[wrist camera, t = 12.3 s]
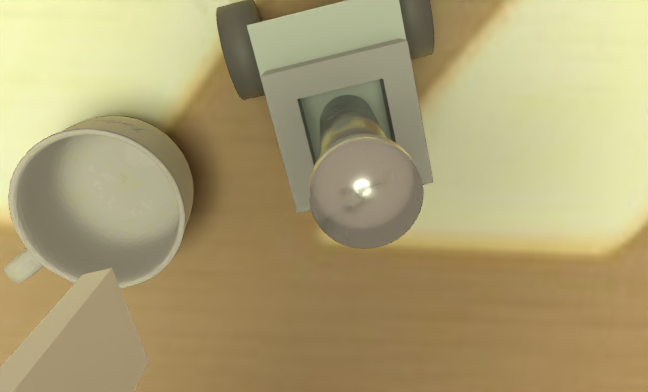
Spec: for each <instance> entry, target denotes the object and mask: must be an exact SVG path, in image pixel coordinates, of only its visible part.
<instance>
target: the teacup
mask: <svg viewBox="0 0 648 392" xmlns="http://www.w3.org/2000/svg"><path fill="white" fill-rule="evenodd" d="M193 196H194V186H193V178H192V174H191V171H190V168H189V165H188V162H187V161H186V159H185V157H184V155H183V153H182V152H181V150H180V149H179V148H178V146H177V145H176V144H175V143H174V142H173V141H172V140H171V139H170V138H169V137H168V136H167V135H166V134H165V133H163V132H162V131H160V130H159V129H157V128H156V127H154V126H152V125H150V124H148V123H146V122H143V121H141V120H138V119H134V118H129V117H124V116H103V117H96V118H92V119H88V120H85V121H82V122H80V123H77V124H75V125H73V126H71V127H69V128H67V129H65V130H63V131H61V132H59V133H56V134H54V135H51V136H49V137H47V138H45V139H43V140H42V141H40V142H39V143H37V144H36V145H34V146H33V147H32V148H31V149H30V150H29V151H28V152H27V153H26V155H25V156H24V157H23V158H22V159H21V161H20V162H19V164H18V165H17V168H16V169H15V171H14V173H13V176H12V179H11V181H10V189H9V196H8V198H9V210H10V215H11V219H12V222H13V225H14V227H15V229H16V231H17V233H18V235H19V237H20V238H21V240H22V242H23V243H24V245H25V246H26V248H25V249H24V250H23V251H21V252H20V253H19V254H18V255H17V256H15V257H14V258H13V259H12V260H11V261H9V262H8V263H7V264H6V265H5V268H4V271H5V273H6V275H7V276H8V277H9V278H10V279H12V280H13V281H14V282H17V283H22V282H24V281H25V280H27V279H28V278H30V277H31V276H32V275H34V274H35V273H36V272H37V271H39V270H40V269H41V268H42V267H44V266H45V267H46V268H47V269H49V270H51V271H52V272H54V273H55V274H57V275H59V276H61V277H63V278H65V279H66V280H68V281H71V282H73V283H76V281H77V280H78V279H79V278H80V277H81V276H82V275H83V274H87V273H92V272H96V271H101V270H105V269H109V268H112V269H113V272H114V274H115V277H116V279H117V282H118V284H119V287H120V288H125V287H129V286H132V285H136V284H139V283H142V282H144V281H146V280H148V279H150V278H152V277H154V276H155V275H157V274H158V273H159V272H161V271H162V270H163V269H164V268H165V267H166V266H167V265H168V264H169V262H170V261H171V260H172V259H173V258H174V256H175V255H176V253H177V251H178V249H179V247H180V245H181V243H182V240H183V236H184V231H185V228H186V225H187V222H188V220H189V216H190V213H191V210H192V205H193Z"/></svg>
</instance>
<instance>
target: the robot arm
mask: <svg viewBox="0 0 648 392" xmlns="http://www.w3.org/2000/svg"><path fill="white" fill-rule="evenodd" d="M148 362H149V360H148V357H147V355H146V352H145V350H144V347H143V345H142V342H141V340H140V337H139V335H138V332H137V330H136V327H135V325H134V322H133V320H132V317H131V315H130V312H129V309H128V307H127V304H126V302H125V299H124V297H123V294H122V292H121V289H120V287H119V284H118V282H117V279H116V277H115V274H114V272H113V269H112V268H109V269H105V270H101V271H96V272H92V273H87V274H83V275H82V276H81V277H80V278H79V279H78V280H77V281H76V283H75V284H74V285H73V286H72V287H71V288H70V289H69V290H68V292H67V293H66V294H65V295H64V296H63V297H62V298H61V299H60V300H59V302H58V303H57V304H56V305H55V306H54V307H53V308H52V309H51V311H50V312H49V313H48V314H47V315H46V316H45V317H44V318H43V320H42V321H41V322H40V323H39V324H38V325H37V326H36V327H35V329H34V330H33V331H32V332H31V333H30V334H29V335H28V336H27V338H26V339H25V340H24V341H23V342H22V343H21V344H20V345H19V346H18V348H17V349H16V350H15V351H14V352H13V353H12V354H11V355H10V357H9V358H8V359H7V360H6V361H5V362H4V363H3V364H2V366H1V367H0V392H134V391H135V389H136V387H137V385H138V383H139V381H140V379H141V377H142V375H143V373H144V371H145V368H146V366H147V364H148Z"/></svg>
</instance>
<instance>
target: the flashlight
mask: <svg viewBox="0 0 648 392" xmlns="http://www.w3.org/2000/svg"><path fill="white" fill-rule="evenodd" d="M320 153H321V155H320V157H319V158H318V159H317V161H316V163H315V165H314V167H313V170H312V173H311V177H310V186H309V202H310V207H311V211H312V214H313V216H314V218H315V220H316V222H317V224H318V225H319V227H320V228H321V229H322V230H323V231H324V232H325V233H326V234H327V235H328V236H329V237H330V238H332V239H333V240H335V241H337V242H339V243H341V244H343V245H346V246H349V247H354V248H362V249H366V248H376V247H380V246H384V245H386V244H389V243H391V242H393V241H395V240H397V239H398V238H399V237H401V236H402V235H404V234H405V233H406V232H407V231H408V230H409V229H410V227H411V226H412V225H413V224H414V222H415V220H416V219H417V217H418V215H419V213H420V210H421V206H422V202H423V183H422V179H421V176H420V173H419V171H418V169H417V167H416V166H415V164H414V162H413V161H412V159H411V158H410V156H409V155H408V153H407V152H406V151H405V150H404V149H403V148H402V147H401V146H400V145H398V144H397V143H396V142H394V141H392V140H390V139H388V138H387V137H386V135H385V134H384V132H383V130H382V128H381V126H380V124H379V122H378V120H377V119H376V117H375V115H374V113H373V111H372V109H371V108H370V106H369V105H368V103H367V102H366V101H364V100H363V99H362V98H360V97H357V96H354V95H341V96H337V97H335V98H333V99H332V100H331V101H329V102H328V103H327V104H326V106H325V107H324V109H323V111H322V113H321V117H320Z"/></svg>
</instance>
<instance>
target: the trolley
mask: <svg viewBox="0 0 648 392" xmlns="http://www.w3.org/2000/svg"><path fill="white" fill-rule="evenodd" d="M216 16H217V26H218V32H219V37H220V42H221V46H222V50H223V54H224V58H225V61H226V64H227V67H228V71H229V73H230V76H231V79H232V82H233V84H234V86H235V89H236V91H237V93H238V94H239V96H240V97H241V99H243V100H245V99H249V98H253V97H258V96H262V95H265V96H266V100H267V104H268V107H269V111H270V115H271V118H272V122H273V126H274V129H275V133H276V137H277V141H278V144H279V148H280V152H281V155H282V159H283V163H284V167H285V170H286V174H287V178H288V181H289V185H290V189H291V192H292V196H293V200H294V204H295V207H296V211H297V213H301V212H305V211H310V210H311V207H310V202H309V186H310V177H311V173H312V170H313V167H314V165H315V163H316V161H317V159H318V158H319V157H320V155H321V153H320V117H321V113H322V111H323V109H324V107H325V106H326V104H327V103H328V102H329V101H331V100H332V99H333V98H335V97H337V96H341V95H354V96H357V97H360V98H362V99H363V100H364V101H366V102H367V103H368V105H369V106H370V108H371V109H372V111H373V113H374V115H375V117H376V119H377V120H378V122H379V124H380V126H381V128H382V130H383V132H384V134H385V135H386V137H387V138H388V139H390V140H392V141H394V142H396V143H397V144H398V145H400V146H401V147H402V148H403V149H404V150H405V151H406V152H407V153H408V155H409V156H410V158H411V159H412V161H413V162H414V164H415V166H416V167H417V169H418V171H419V173H420V176H421V179H422V183H423V185H424V184H428V183H433V178H432V172H431V167H430V161H429V156H428V150H427V145H426V139H425V134H424V129H423V123H422V118H421V112H420V107H419V101H418V96H417V91H416V85H415V80H414V74H413V69H412V63H411V59H414V58H418V57H422V56H427V55H431V54H432V53H433V49H434V27H433V18H432V11H431V5H430V0H346V1H342V2H338V3H334V4H330V5H326V6H322V7H318V8H314V9H310V10H306V11H302V12H298V13H294V14H290V15H286V16H282V17H278V18H274V19H270V20H266V21H262V20H261V17H260V14H259V11H258V9H257V6H256V4H255V2H254V0H245V1H241V2H238V3H234V4H230V5H226V6H222V7H218V8H217V13H216Z"/></svg>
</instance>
